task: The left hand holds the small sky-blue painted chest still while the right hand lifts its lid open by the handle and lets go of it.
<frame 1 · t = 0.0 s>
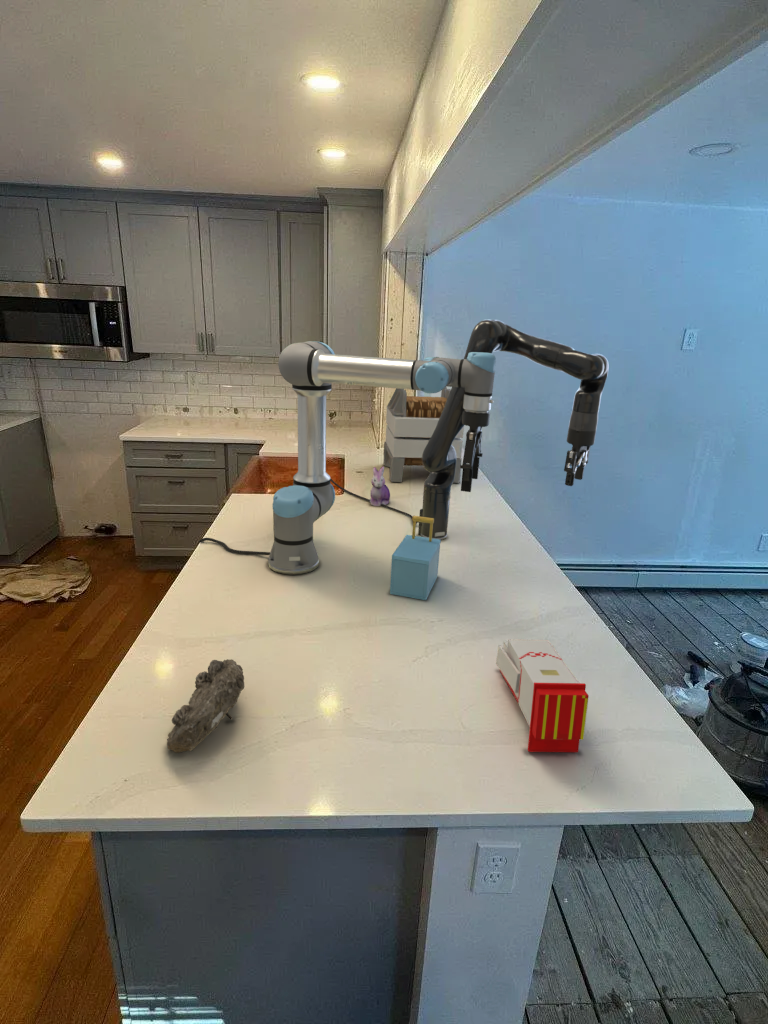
left hand: (469, 484, 163), 28 cm above the counter, tool pointing down, fingers open, 13 cm apart
right hand: (573, 482, 165), 29 cm above the counter, tool pointing down, fingers open, 8 cm apart
figurine: (379, 503, 230), on the counter
fossil: (212, 717, 108), on the counter
lid: (417, 537, 159), point 15 cm above the counter, hinge at 0.0°
toy: (531, 703, 116), on the counter
grey wooden crate: (419, 473, 275), on the counter
chest: (414, 585, 163), on the counter
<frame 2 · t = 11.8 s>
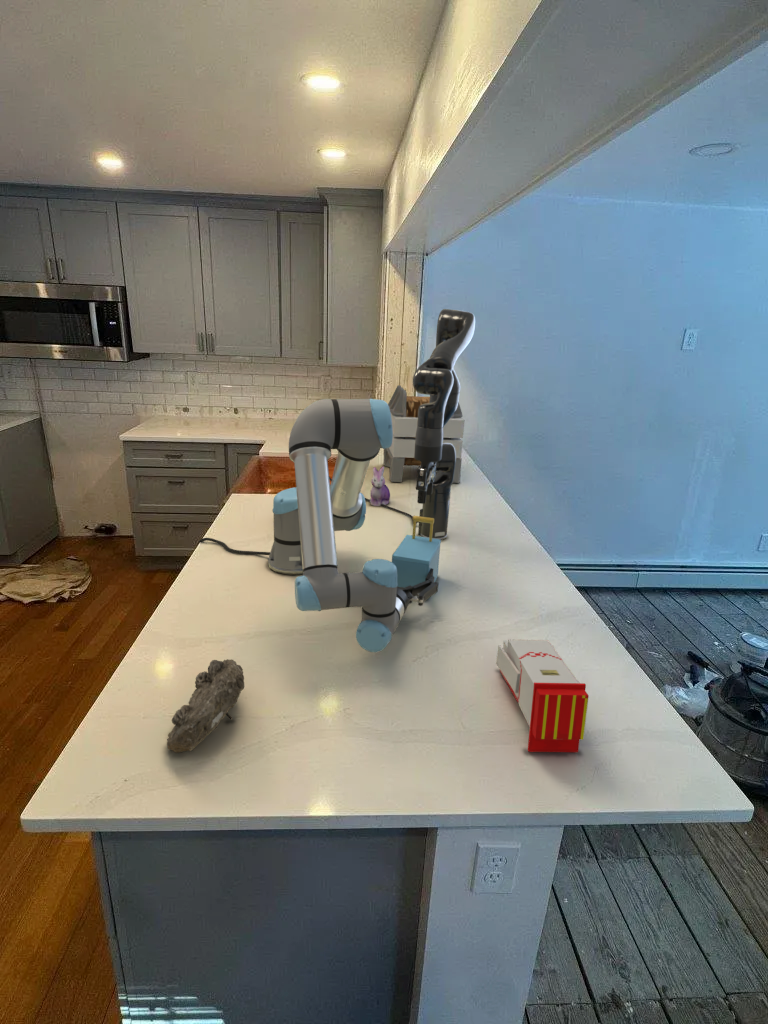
left hand: (412, 569, 157), 7 cm above the counter, tool horizontal, fingers closed on chest, 10 cm apart
right hand: (424, 498, 160), 24 cm above the counter, tool pointing down, fingers open, 8 cm apart
chest: (414, 585, 163), on the counter, touching left hand
everything else where it was.
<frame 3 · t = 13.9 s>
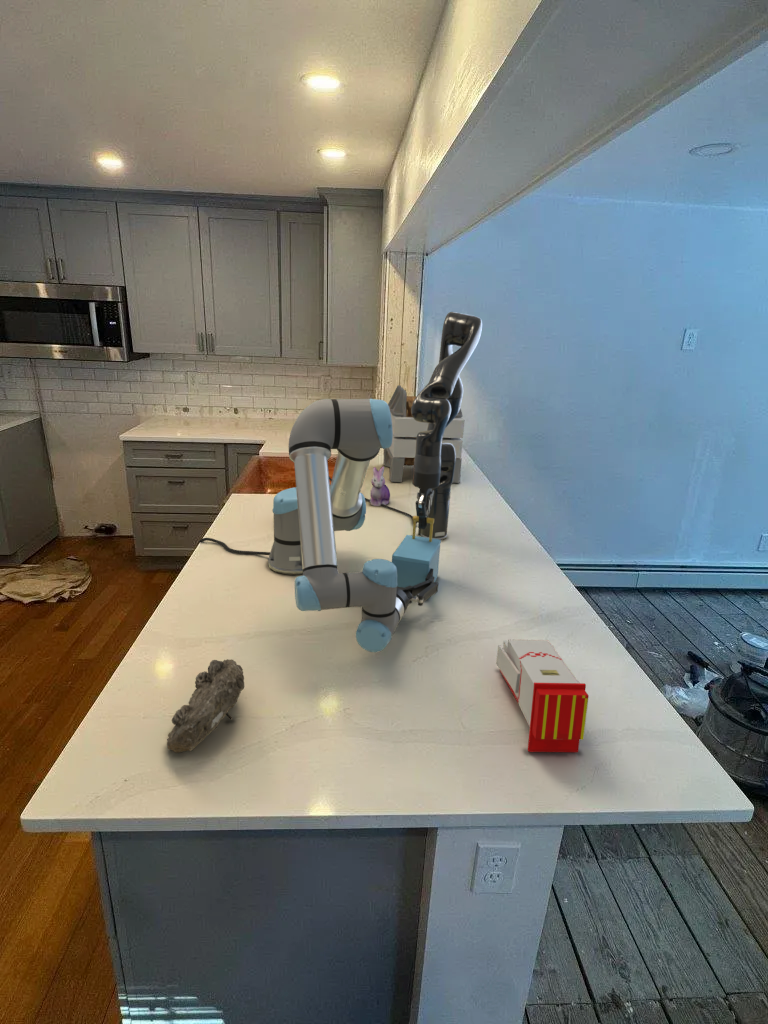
left hand: (412, 569, 156), 7 cm above the counter, tool horizontal, fingers closed on chest, 10 cm apart
right hand: (422, 527, 163), 16 cm above the counter, tool pointing down, fingers closed on lid
lid: (418, 537, 159), point 15 cm above the counter, hinge at -0.1°, touching right hand
chest: (414, 585, 163), on the counter, touching left hand
everything else where it was.
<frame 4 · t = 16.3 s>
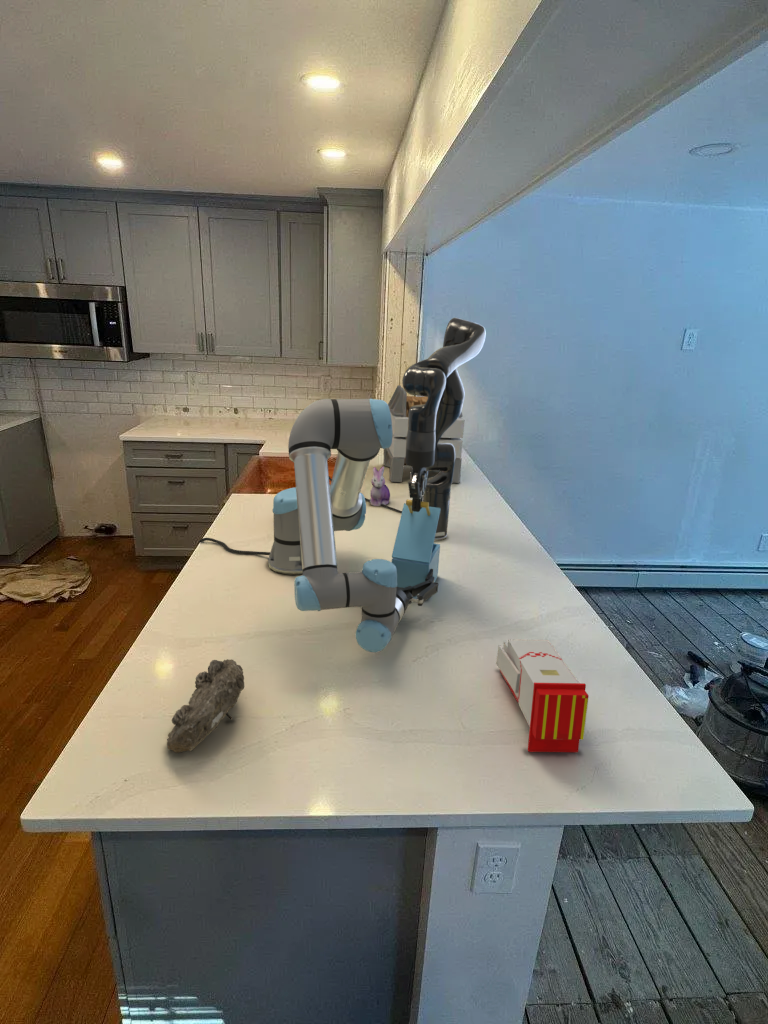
left hand: (411, 570, 156), 7 cm above the counter, tool horizontal, fingers closed on chest, 10 cm apart
right hand: (416, 509, 152), 24 cm above the counter, tool pointing down, fingers closed on lid
lid: (414, 527, 152), point 20 cm above the counter, hinge at 47.4°, touching right hand
chest: (414, 585, 163), on the counter, touching left hand
everything else where it was.
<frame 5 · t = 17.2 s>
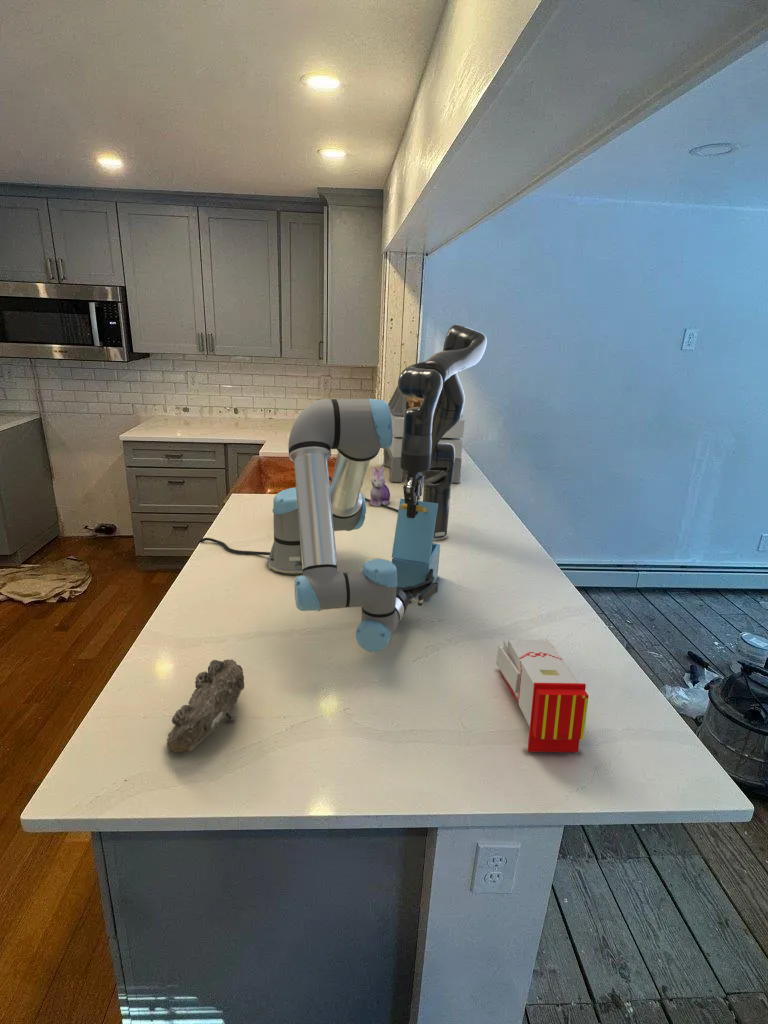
left hand: (412, 570, 156), 7 cm above the counter, tool horizontal, fingers closed on chest, 10 cm apart
right hand: (412, 515, 147), 24 cm above the counter, tool pointing down, fingers closed
lid: (412, 530, 149), point 20 cm above the counter, hinge at 67.1°
chest: (414, 585, 163), on the counter, touching left hand
everything else where it was.
when the left hand's fingers open (7 cm above the counter, at t = 21.3 s): chest stays where it is, on the counter.
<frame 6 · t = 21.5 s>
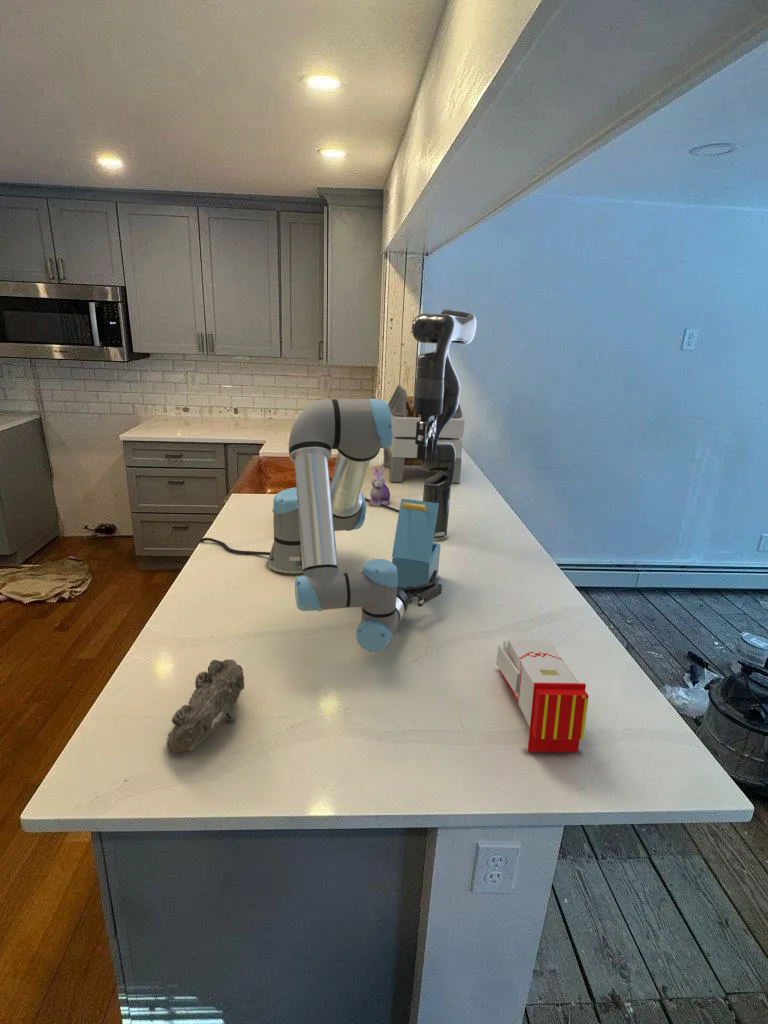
left hand: (411, 570, 156), 7 cm above the counter, tool horizontal, fingers open, 13 cm apart
right hand: (424, 456, 152), 38 cm above the counter, tool pointing down, fingers open, 8 cm apart
lid: (412, 529, 150), point 20 cm above the counter, hinge at 65.1°
chest: (414, 585, 163), on the counter
everything else where it was.
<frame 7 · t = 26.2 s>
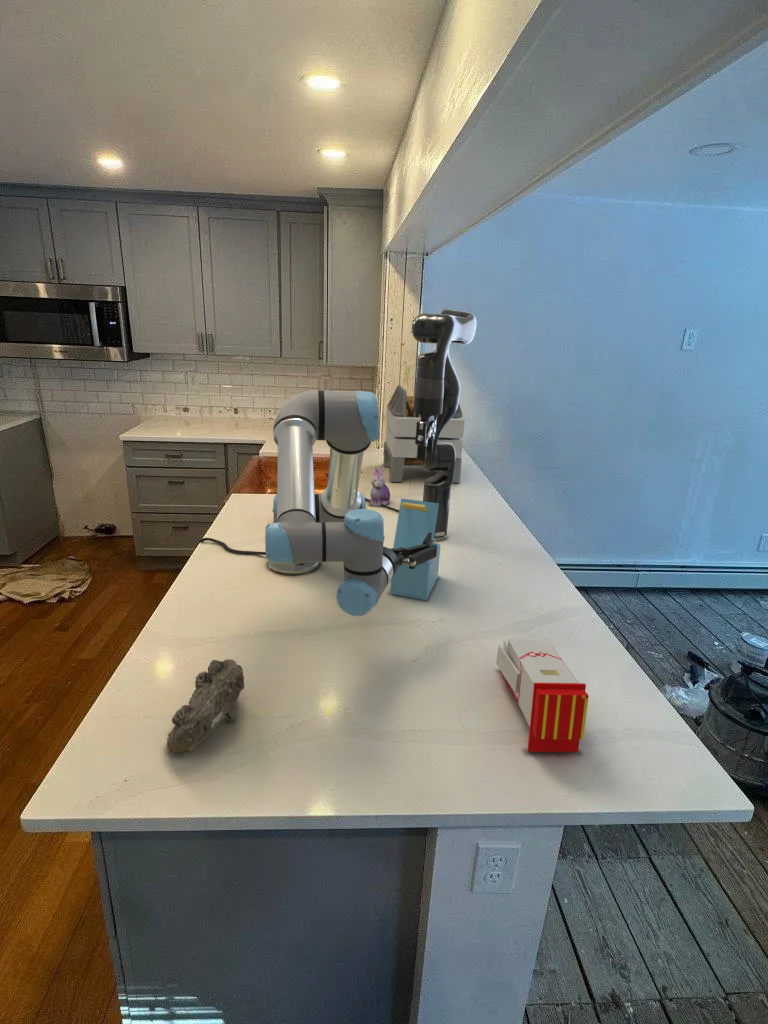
left hand: (402, 533, 139), 23 cm above the counter, tool horizontal, fingers open, 13 cm apart
right hand: (424, 456, 152), 38 cm above the counter, tool pointing down, fingers open, 8 cm apart
nothing on the counter moved.
at the end: lid at +65° (first picture: +0°); the left hand is holding nothing; the right hand is holding nothing; chest tilted 0°; chest never tilted more than 1° during the clip; chest moved 0.1 cm from its start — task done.
